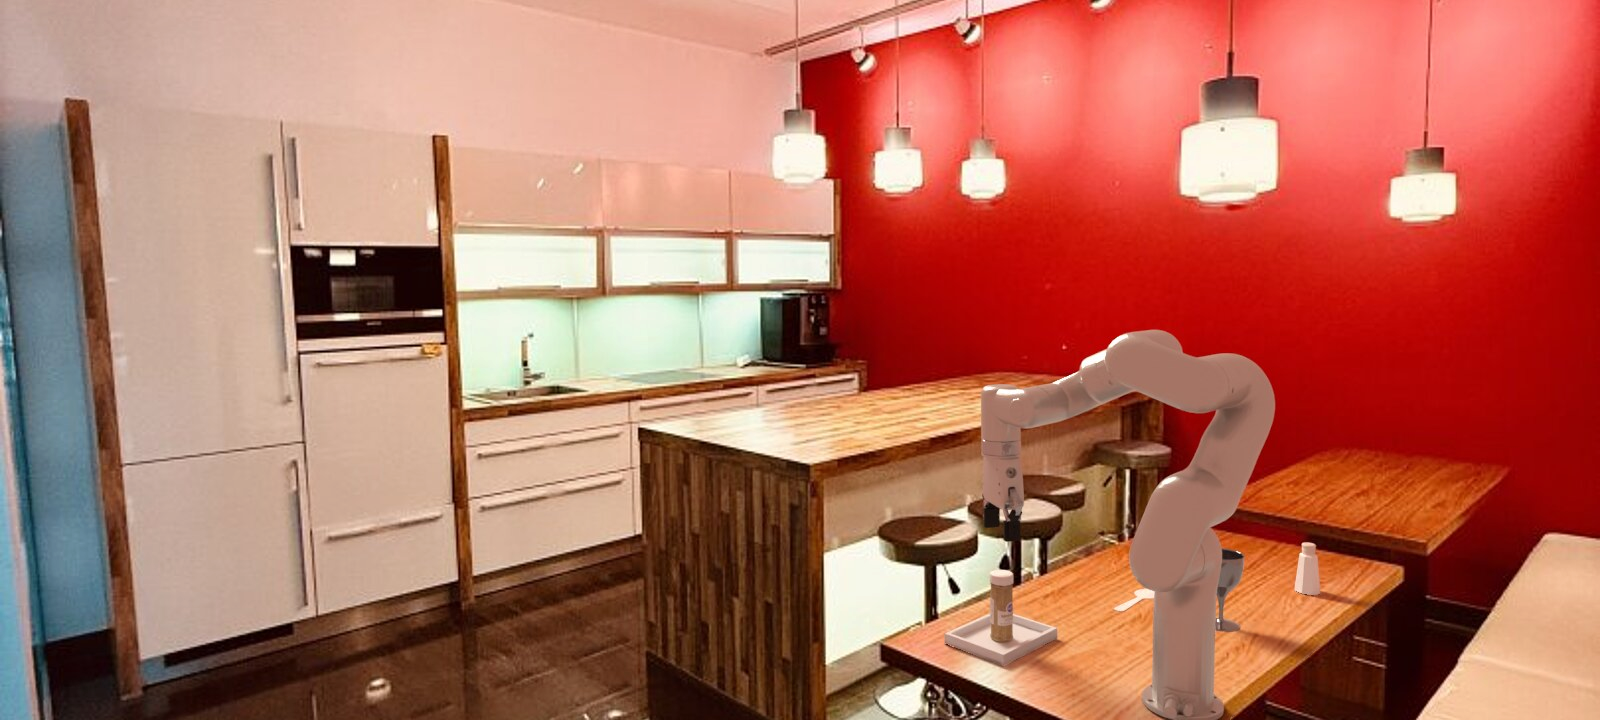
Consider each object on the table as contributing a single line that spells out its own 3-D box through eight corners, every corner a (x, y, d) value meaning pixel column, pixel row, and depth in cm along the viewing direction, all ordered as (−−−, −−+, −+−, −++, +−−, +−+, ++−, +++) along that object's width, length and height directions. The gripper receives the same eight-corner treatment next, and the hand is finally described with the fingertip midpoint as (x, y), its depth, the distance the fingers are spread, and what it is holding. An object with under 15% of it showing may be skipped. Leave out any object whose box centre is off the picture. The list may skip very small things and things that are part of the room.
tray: (1003, 666, 166) (1003, 654, 166) (944, 644, 176) (944, 633, 176) (1057, 638, 178) (1057, 627, 177) (999, 619, 188) (999, 609, 188)
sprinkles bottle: (1008, 644, 174) (1008, 578, 172) (986, 639, 176) (986, 574, 175) (1016, 636, 178) (1016, 571, 176) (994, 631, 180) (994, 567, 179)
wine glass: (1205, 614, 188) (1207, 545, 187) (1246, 623, 183) (1248, 552, 182) (1194, 626, 182) (1196, 555, 181) (1236, 635, 177) (1238, 562, 176)
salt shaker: (1289, 591, 201) (1290, 543, 200) (1300, 585, 204) (1301, 538, 203) (1314, 597, 196) (1316, 549, 195) (1325, 591, 200) (1327, 544, 198)
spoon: (1105, 608, 193) (1105, 606, 193) (1144, 588, 205) (1144, 585, 205) (1128, 615, 189) (1128, 613, 189) (1167, 593, 202) (1167, 591, 201)
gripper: (1038, 455, 165) (1039, 544, 167) (1001, 439, 182) (1001, 520, 184) (1000, 457, 164) (1001, 548, 166) (966, 441, 181) (967, 523, 183)
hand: (1001, 533), depth 175 cm, fingers open, 9 cm apart
